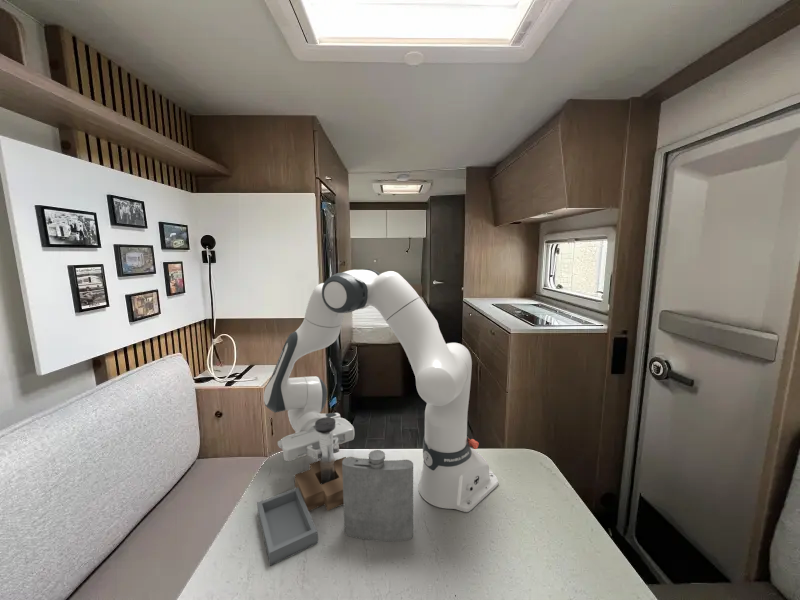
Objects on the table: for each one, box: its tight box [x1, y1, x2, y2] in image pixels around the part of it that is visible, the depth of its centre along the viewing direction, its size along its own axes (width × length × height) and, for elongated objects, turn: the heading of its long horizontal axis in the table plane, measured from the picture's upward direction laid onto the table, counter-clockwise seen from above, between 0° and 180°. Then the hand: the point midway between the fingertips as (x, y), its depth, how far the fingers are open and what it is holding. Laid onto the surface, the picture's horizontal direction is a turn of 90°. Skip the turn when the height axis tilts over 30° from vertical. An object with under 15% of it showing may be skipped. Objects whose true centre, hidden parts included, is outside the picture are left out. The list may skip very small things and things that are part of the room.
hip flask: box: [342, 449, 414, 542], centre depth 73 cm, size 16×4×20 cm, turn 85°
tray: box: [256, 487, 319, 567], centre depth 76 cm, size 10×16×3 cm, turn 32°
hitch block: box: [294, 456, 347, 512], centre depth 88 cm, size 15×15×4 cm
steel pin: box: [315, 417, 336, 485], centre depth 87 cm, size 5×5×18 cm
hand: (327, 453), depth 86 cm, fingers closed on steel pin, 4 cm apart
